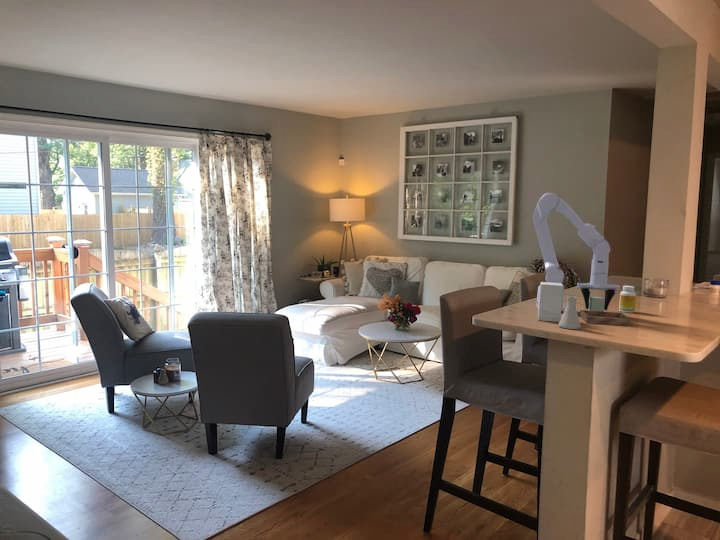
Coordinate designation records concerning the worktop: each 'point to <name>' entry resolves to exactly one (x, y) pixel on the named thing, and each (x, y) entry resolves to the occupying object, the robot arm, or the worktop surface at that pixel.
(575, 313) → the flask
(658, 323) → the worktop surface
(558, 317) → the supplement box
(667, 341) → the worktop surface
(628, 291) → the supplement bottle
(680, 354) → the worktop surface
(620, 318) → the tray
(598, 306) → the sage block
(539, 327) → the worktop surface
